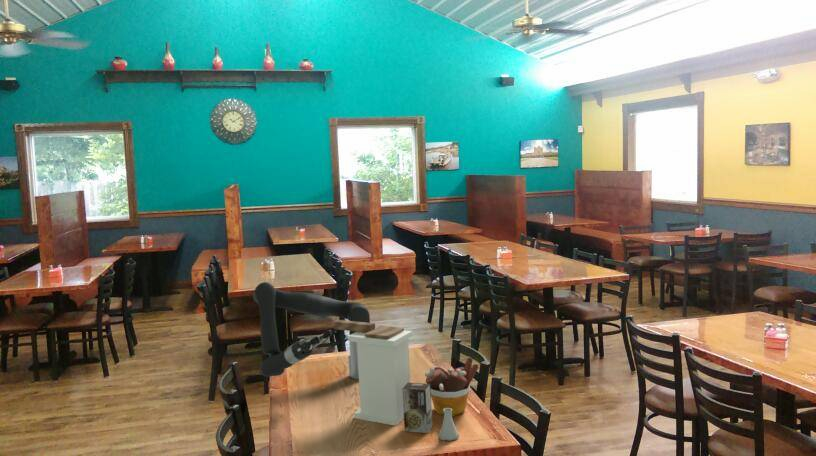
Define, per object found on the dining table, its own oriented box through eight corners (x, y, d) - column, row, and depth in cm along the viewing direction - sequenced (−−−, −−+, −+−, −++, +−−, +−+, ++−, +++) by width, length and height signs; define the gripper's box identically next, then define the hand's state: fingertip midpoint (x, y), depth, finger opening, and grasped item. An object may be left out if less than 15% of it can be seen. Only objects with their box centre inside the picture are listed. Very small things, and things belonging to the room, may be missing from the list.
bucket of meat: (433, 422, 242) (431, 370, 240) (420, 406, 258) (418, 357, 256) (483, 414, 247) (482, 363, 245) (468, 399, 263) (466, 351, 261)
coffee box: (433, 426, 239) (431, 383, 237) (427, 433, 233) (426, 389, 231) (409, 423, 242) (407, 381, 240) (403, 431, 236) (401, 387, 234)
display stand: (352, 417, 250) (347, 335, 246) (371, 404, 262) (367, 326, 258) (397, 426, 240) (393, 341, 236) (415, 412, 252) (412, 331, 249)
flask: (437, 433, 232) (436, 406, 231) (457, 432, 233) (456, 404, 232) (439, 442, 225) (438, 414, 224) (460, 440, 226) (459, 412, 225)
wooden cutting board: (327, 332, 252) (327, 324, 251) (344, 324, 262) (344, 316, 262) (388, 338, 239) (387, 330, 238) (404, 330, 249) (403, 322, 249)
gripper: (312, 354, 273) (339, 338, 266) (291, 365, 261) (318, 348, 253) (304, 338, 274) (330, 322, 267) (282, 348, 262) (309, 331, 254)
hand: (324, 335), depth 260 cm, fingers open, 8 cm apart
